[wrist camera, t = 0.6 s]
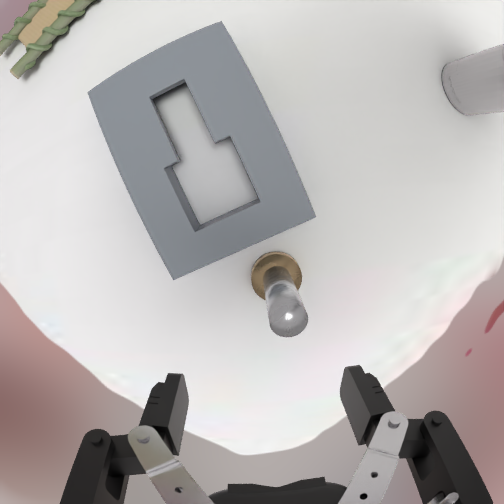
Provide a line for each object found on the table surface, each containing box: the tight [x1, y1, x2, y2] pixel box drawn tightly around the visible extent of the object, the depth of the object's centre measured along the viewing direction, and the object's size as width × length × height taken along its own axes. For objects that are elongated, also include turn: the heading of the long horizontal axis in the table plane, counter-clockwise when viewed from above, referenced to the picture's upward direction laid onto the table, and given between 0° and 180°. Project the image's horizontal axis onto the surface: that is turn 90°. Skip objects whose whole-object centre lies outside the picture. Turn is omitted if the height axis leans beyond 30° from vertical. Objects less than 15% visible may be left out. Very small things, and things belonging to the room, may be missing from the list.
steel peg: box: [251, 252, 308, 337], centre depth 32 cm, size 6×6×12 cm
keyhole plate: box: [88, 21, 316, 280], centre depth 31 cm, size 18×26×4 cm
